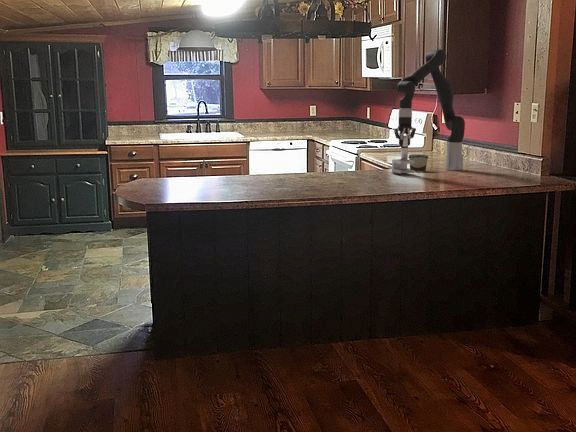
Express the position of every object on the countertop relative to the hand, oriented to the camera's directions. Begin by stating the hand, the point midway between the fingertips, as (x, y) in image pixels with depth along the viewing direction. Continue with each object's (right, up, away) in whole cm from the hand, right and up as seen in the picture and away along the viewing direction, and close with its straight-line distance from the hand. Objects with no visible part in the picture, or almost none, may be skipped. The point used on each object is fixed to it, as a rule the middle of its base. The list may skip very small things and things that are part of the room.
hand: (404, 145), depth 380 cm
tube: (0, -10, +2) cm, 10 cm away
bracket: (-1, -17, +5) cm, 17 cm away
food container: (+12, -13, +22) cm, 28 cm away
